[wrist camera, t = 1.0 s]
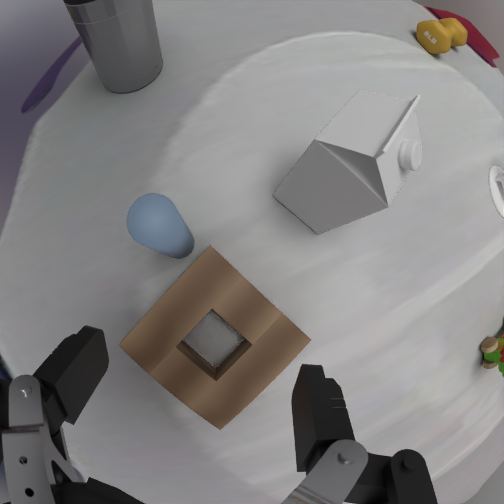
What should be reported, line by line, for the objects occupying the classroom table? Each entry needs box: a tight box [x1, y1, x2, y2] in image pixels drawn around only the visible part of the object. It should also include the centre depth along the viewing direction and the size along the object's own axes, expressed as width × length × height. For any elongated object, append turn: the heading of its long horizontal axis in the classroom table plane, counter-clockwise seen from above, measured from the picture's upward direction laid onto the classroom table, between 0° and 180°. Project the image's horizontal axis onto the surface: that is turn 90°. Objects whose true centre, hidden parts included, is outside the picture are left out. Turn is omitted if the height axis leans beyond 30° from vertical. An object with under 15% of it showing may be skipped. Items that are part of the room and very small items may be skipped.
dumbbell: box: [416, 18, 467, 54], centre depth 37 cm, size 19×9×8 cm, turn 128°
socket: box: [119, 245, 311, 430], centre depth 28 cm, size 14×14×4 cm
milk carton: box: [273, 90, 422, 234], centre depth 24 cm, size 7×7×19 cm
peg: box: [127, 193, 194, 258], centre depth 24 cm, size 3×3×14 cm
